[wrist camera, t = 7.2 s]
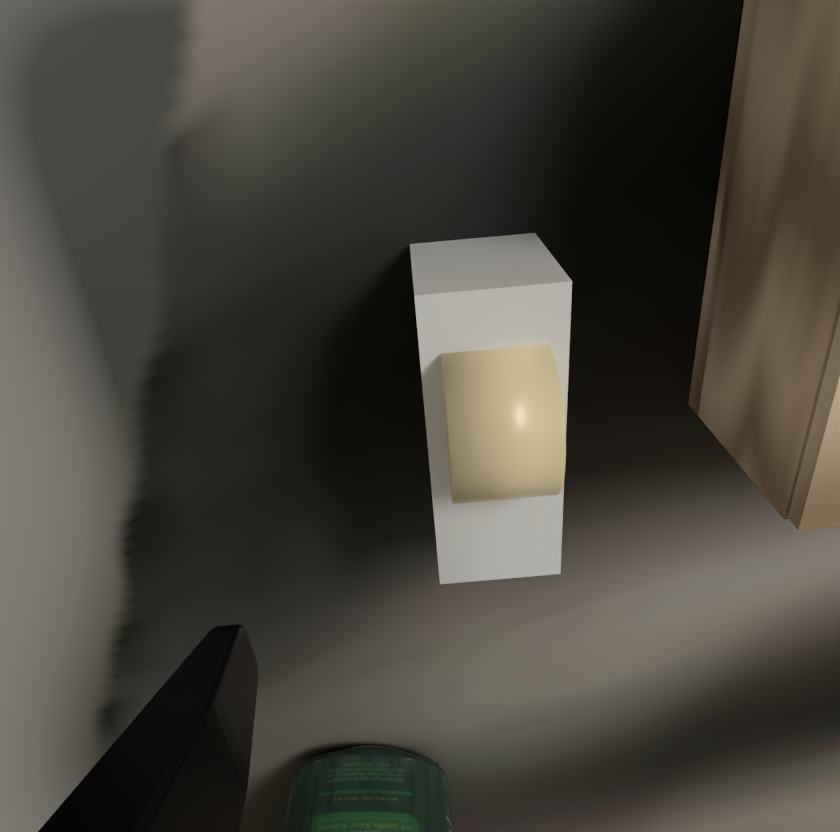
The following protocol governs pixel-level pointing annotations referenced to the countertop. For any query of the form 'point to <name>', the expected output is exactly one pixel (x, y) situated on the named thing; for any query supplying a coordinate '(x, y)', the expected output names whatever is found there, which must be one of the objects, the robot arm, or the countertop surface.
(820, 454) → the flap
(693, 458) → the countertop surface
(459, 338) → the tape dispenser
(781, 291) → the cardboard box
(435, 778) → the coffee jar
